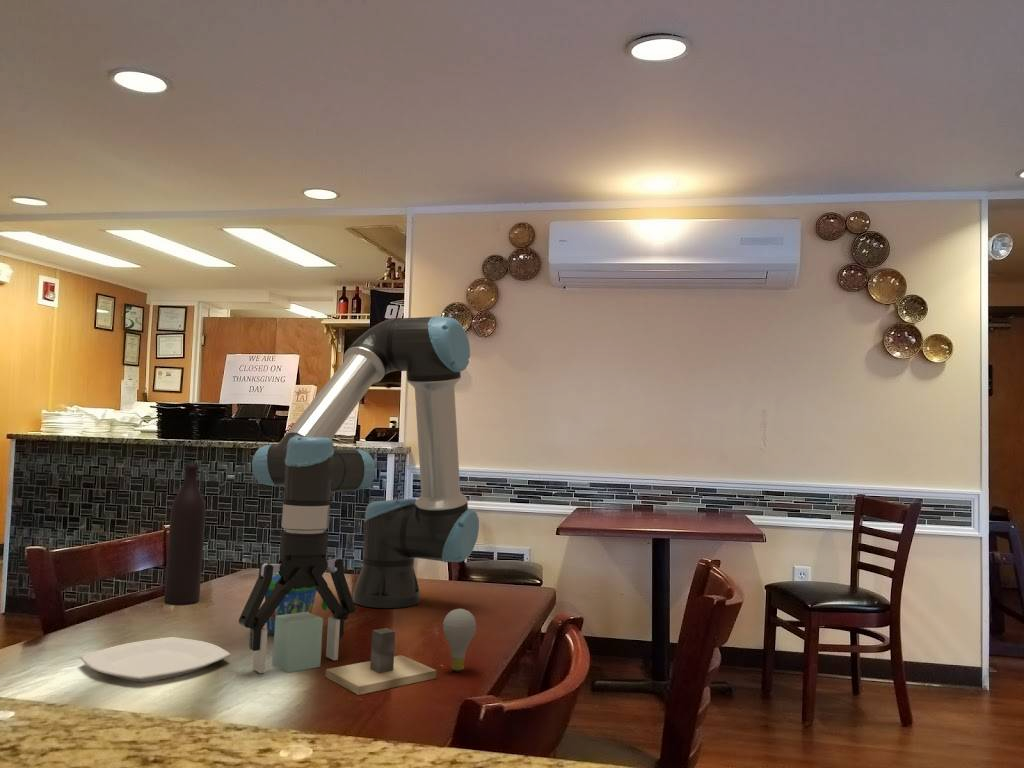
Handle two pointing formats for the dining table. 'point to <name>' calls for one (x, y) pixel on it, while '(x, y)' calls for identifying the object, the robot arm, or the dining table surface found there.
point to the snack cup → (292, 602)
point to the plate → (155, 658)
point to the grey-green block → (297, 641)
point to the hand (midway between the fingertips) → (296, 664)
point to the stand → (380, 668)
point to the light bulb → (459, 634)
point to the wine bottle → (185, 542)
